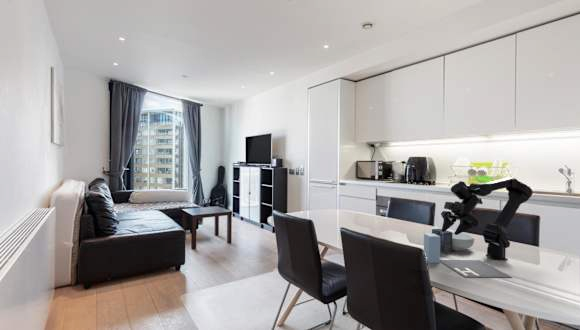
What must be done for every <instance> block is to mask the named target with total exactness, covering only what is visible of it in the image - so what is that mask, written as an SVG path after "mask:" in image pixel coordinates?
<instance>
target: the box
mask: <svg viewBox="0 0 580 330" xmlns="http://www.w3.org/2000/svg"><path fill="white" fill-rule="evenodd" d="M452 232H453V231H449V230H446V231H444V232H443V231H442V228H433V229H431V234H436V235H438V236H440V254H444V255H445V254H451V253H452V252H453V249H452Z"/></svg>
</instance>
